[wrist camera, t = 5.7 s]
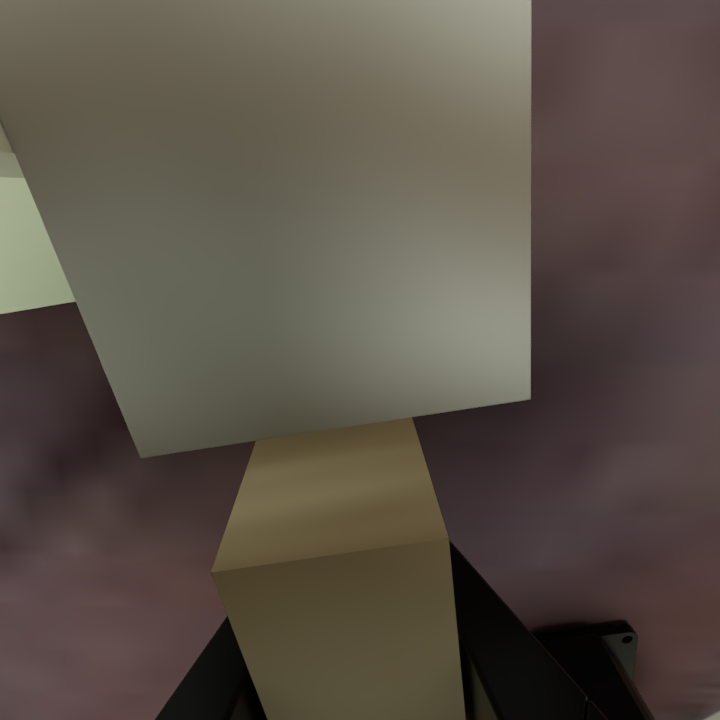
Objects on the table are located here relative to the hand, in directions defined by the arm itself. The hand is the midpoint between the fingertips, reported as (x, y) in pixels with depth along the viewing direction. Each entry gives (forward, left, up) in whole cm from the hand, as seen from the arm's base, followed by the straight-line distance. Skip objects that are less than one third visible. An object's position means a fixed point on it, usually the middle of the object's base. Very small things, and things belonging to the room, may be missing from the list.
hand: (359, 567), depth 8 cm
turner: (+2, 0, -1) cm, 2 cm away
